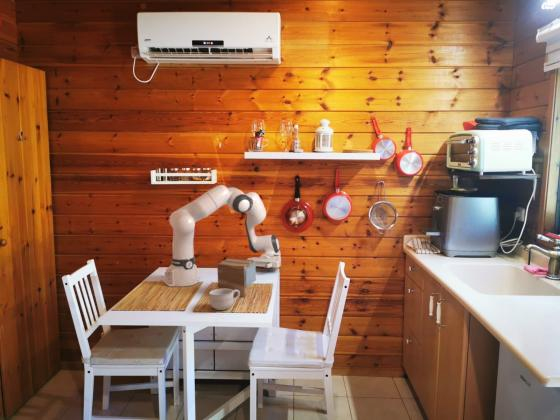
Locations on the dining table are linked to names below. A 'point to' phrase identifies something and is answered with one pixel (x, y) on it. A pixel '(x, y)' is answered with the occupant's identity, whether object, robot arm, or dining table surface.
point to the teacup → (222, 298)
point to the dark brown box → (233, 275)
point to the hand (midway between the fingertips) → (258, 265)
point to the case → (250, 274)
